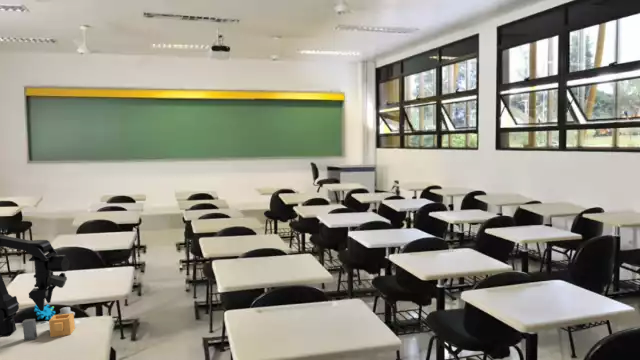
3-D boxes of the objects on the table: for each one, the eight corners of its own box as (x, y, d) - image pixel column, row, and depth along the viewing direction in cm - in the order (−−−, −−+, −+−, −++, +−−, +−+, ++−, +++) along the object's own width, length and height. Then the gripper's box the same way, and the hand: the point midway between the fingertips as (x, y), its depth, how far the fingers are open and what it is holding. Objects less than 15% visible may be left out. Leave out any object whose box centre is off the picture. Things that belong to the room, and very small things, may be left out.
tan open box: (48, 338, 204) (46, 319, 203) (59, 325, 218) (58, 306, 217) (69, 336, 205) (67, 317, 204) (78, 323, 219) (77, 304, 218)
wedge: (24, 340, 203) (22, 322, 202) (26, 338, 205) (24, 319, 205) (34, 339, 204) (32, 321, 203) (37, 337, 206) (35, 318, 205)
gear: (45, 320, 219) (31, 304, 221) (36, 329, 220) (22, 313, 221) (62, 314, 230) (48, 298, 231) (54, 323, 231) (40, 307, 232)
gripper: (57, 276, 199) (60, 313, 201) (69, 263, 217) (72, 297, 219) (26, 278, 196) (29, 315, 198) (41, 265, 214) (44, 299, 216)
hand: (45, 306), depth 208 cm, fingers open, 9 cm apart
